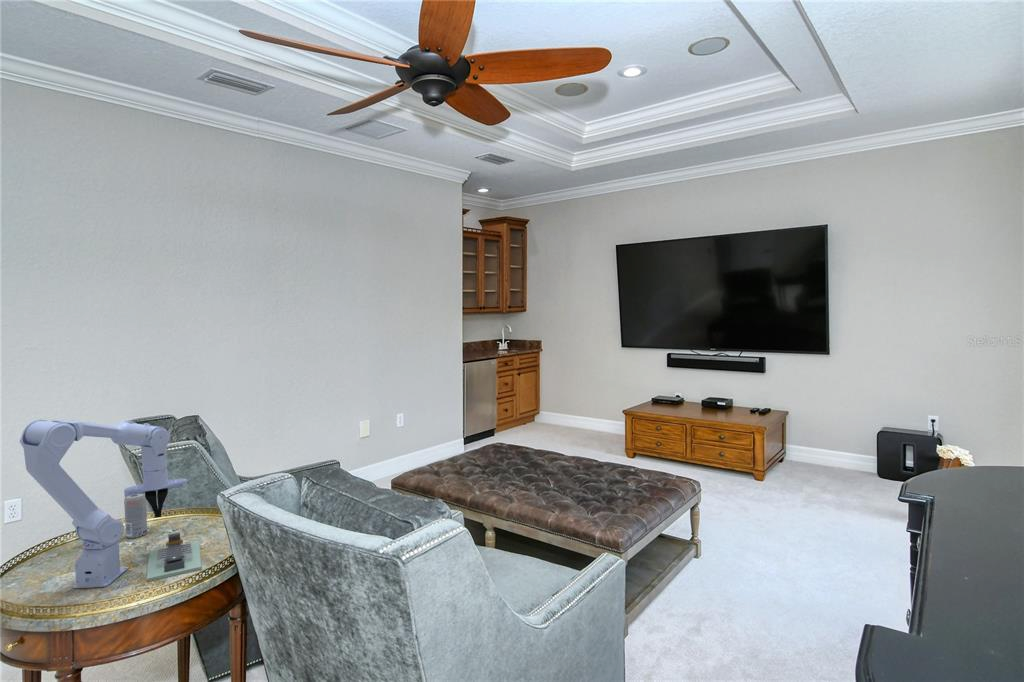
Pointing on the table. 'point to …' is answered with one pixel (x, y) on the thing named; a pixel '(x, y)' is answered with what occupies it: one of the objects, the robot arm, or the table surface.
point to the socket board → (188, 565)
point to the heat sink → (185, 553)
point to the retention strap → (174, 550)
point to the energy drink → (135, 515)
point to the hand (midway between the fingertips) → (158, 516)
